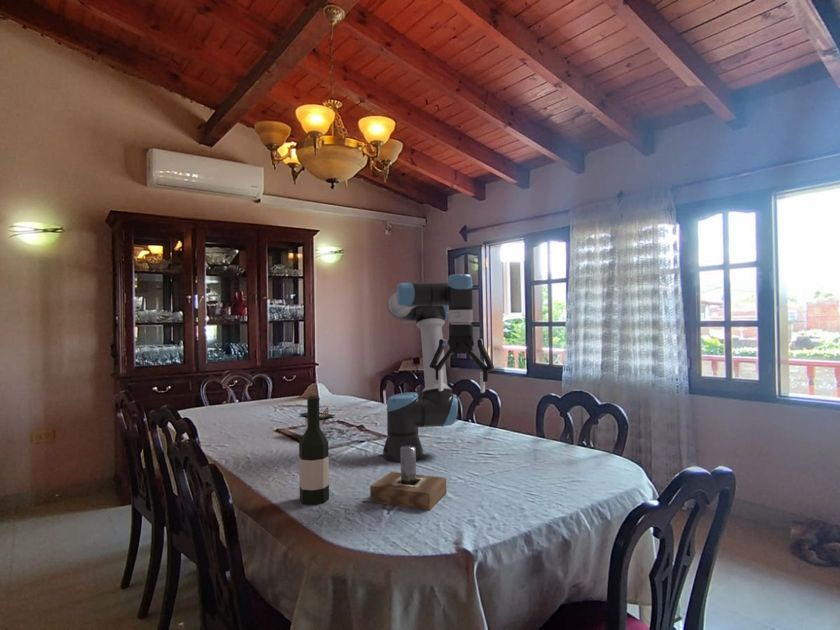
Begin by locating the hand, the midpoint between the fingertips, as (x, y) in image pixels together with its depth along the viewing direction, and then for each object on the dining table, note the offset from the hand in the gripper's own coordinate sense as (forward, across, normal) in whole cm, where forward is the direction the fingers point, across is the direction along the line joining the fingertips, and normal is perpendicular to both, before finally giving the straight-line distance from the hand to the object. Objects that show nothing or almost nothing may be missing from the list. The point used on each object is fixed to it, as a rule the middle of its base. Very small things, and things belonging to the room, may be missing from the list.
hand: (461, 391), depth 159 cm
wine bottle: (+29, -36, -28) cm, 54 cm away
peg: (+28, -11, -17) cm, 35 cm away
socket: (+29, -11, -17) cm, 35 cm away
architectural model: (+29, -78, +38) cm, 92 cm away
